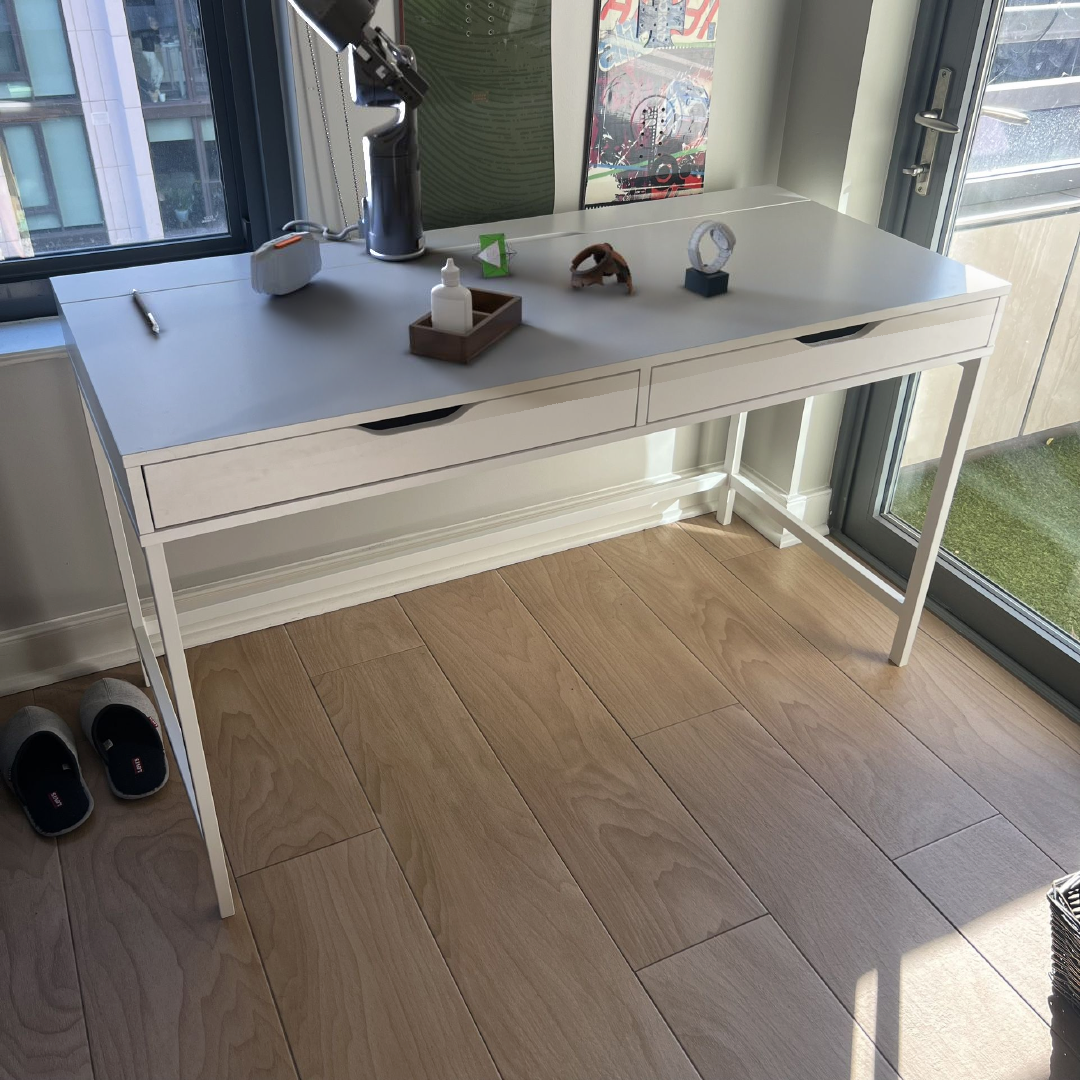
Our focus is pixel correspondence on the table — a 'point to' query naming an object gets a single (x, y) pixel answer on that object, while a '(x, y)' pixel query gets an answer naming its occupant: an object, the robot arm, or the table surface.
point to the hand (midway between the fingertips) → (422, 98)
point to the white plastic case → (285, 263)
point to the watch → (710, 276)
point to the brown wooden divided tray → (489, 325)
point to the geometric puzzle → (493, 255)
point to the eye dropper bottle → (451, 302)
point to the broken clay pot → (600, 267)
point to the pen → (146, 311)
